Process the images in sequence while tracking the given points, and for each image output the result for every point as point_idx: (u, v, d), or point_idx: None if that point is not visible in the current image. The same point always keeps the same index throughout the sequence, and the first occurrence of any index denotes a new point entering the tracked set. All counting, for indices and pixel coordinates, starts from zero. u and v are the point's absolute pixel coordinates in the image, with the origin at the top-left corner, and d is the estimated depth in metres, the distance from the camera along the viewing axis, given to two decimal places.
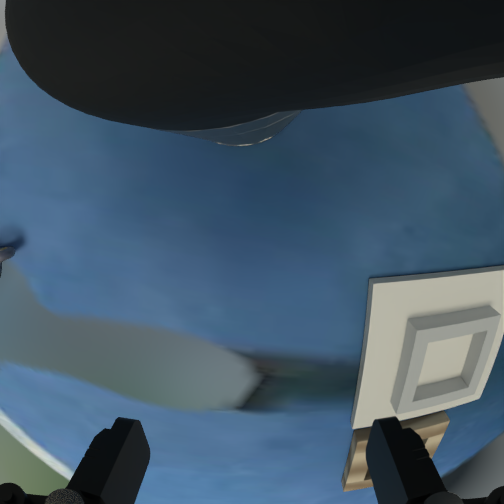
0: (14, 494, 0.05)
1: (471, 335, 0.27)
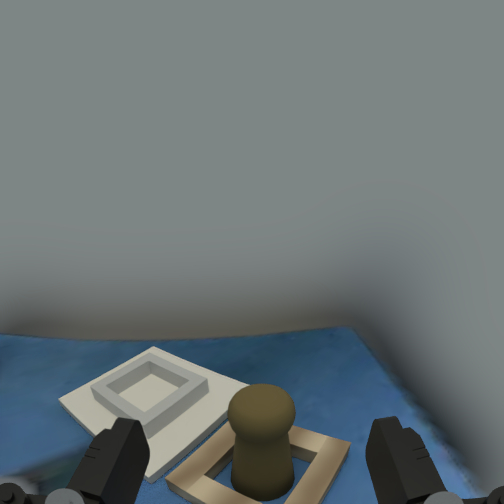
0: (14, 494, 0.05)
1: (159, 379, 0.39)
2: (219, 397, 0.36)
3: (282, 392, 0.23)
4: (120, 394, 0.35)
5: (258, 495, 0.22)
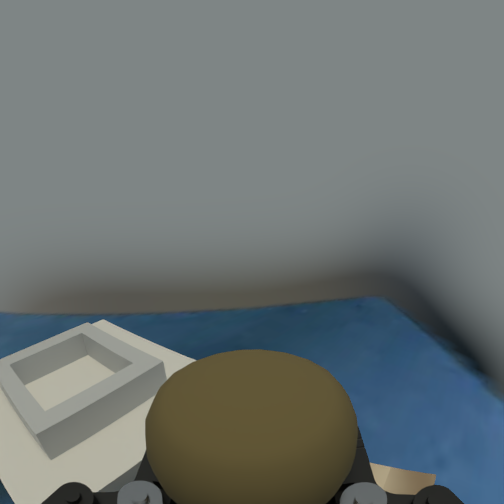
0: (80, 494, 0.06)
1: (96, 363, 0.23)
2: None
3: (317, 371, 0.07)
4: (35, 381, 0.20)
5: None
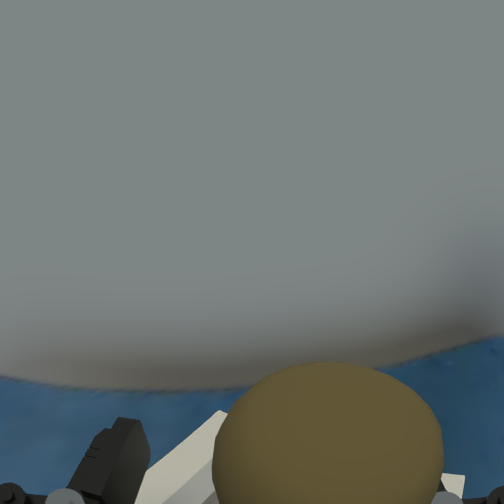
0: (14, 494, 0.05)
1: None
2: None
3: (410, 393, 0.06)
4: None
5: None
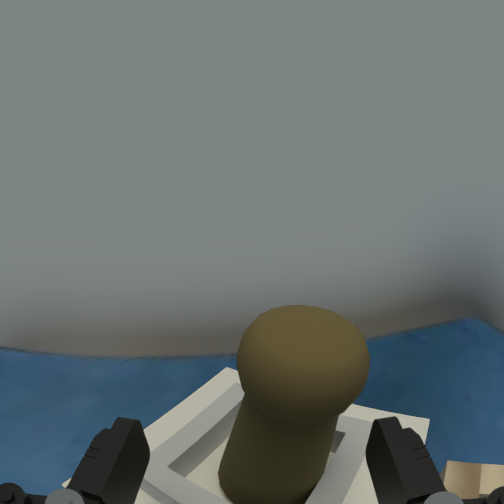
0: (14, 494, 0.05)
1: None
2: None
3: (343, 318, 0.12)
4: (194, 473, 0.16)
5: None
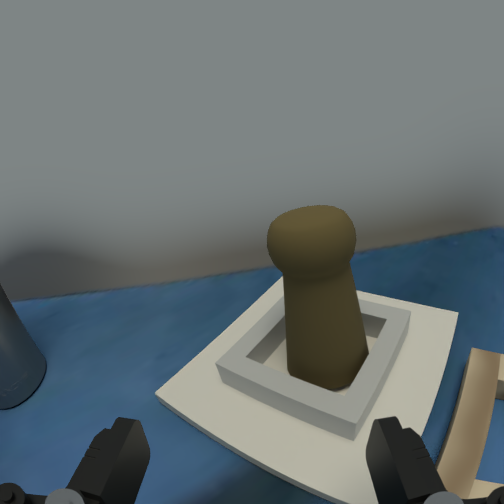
0: (14, 494, 0.05)
1: None
2: (427, 337, 0.22)
3: None
4: (266, 363, 0.23)
5: (339, 375, 0.19)
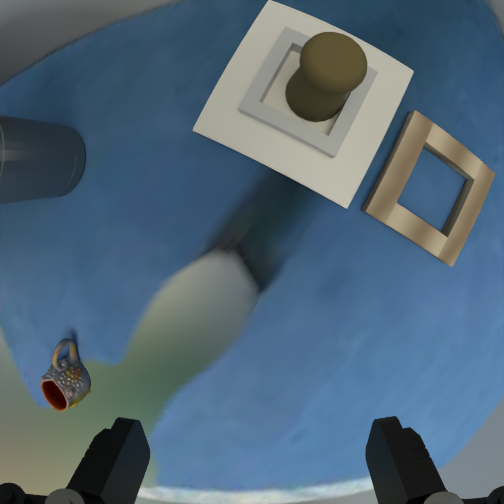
0: (14, 494, 0.05)
1: None
2: (385, 86, 0.29)
3: (351, 42, 0.19)
4: (269, 94, 0.30)
5: (326, 117, 0.29)
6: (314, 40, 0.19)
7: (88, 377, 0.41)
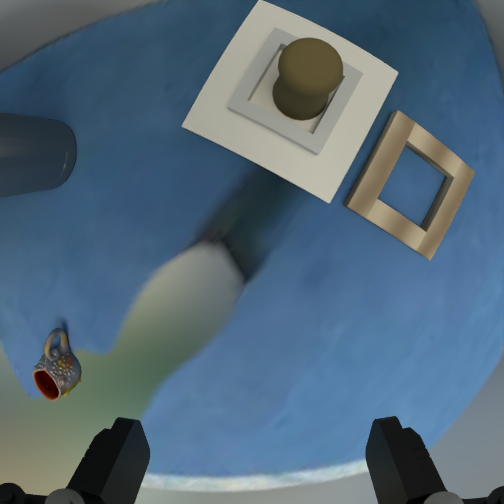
0: (14, 494, 0.05)
1: None
2: (370, 86, 0.30)
3: (326, 47, 0.20)
4: (257, 92, 0.31)
5: (311, 116, 0.31)
6: (290, 47, 0.21)
7: (79, 366, 0.41)
